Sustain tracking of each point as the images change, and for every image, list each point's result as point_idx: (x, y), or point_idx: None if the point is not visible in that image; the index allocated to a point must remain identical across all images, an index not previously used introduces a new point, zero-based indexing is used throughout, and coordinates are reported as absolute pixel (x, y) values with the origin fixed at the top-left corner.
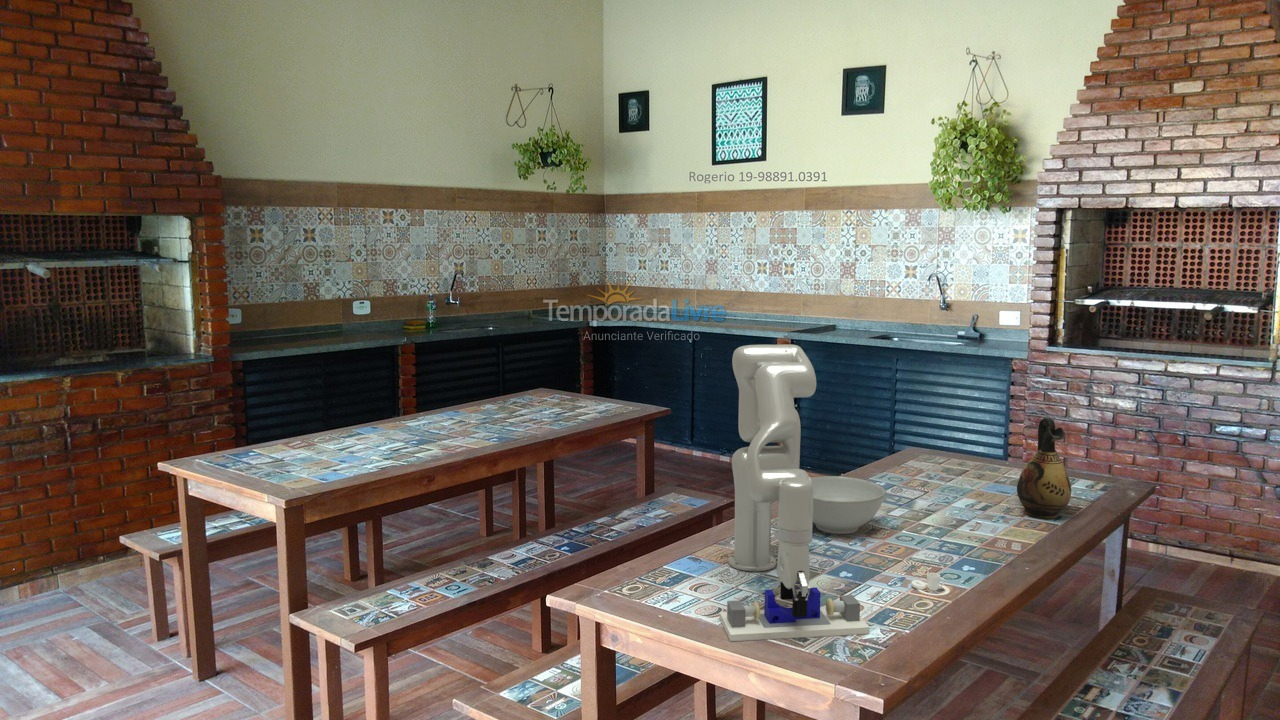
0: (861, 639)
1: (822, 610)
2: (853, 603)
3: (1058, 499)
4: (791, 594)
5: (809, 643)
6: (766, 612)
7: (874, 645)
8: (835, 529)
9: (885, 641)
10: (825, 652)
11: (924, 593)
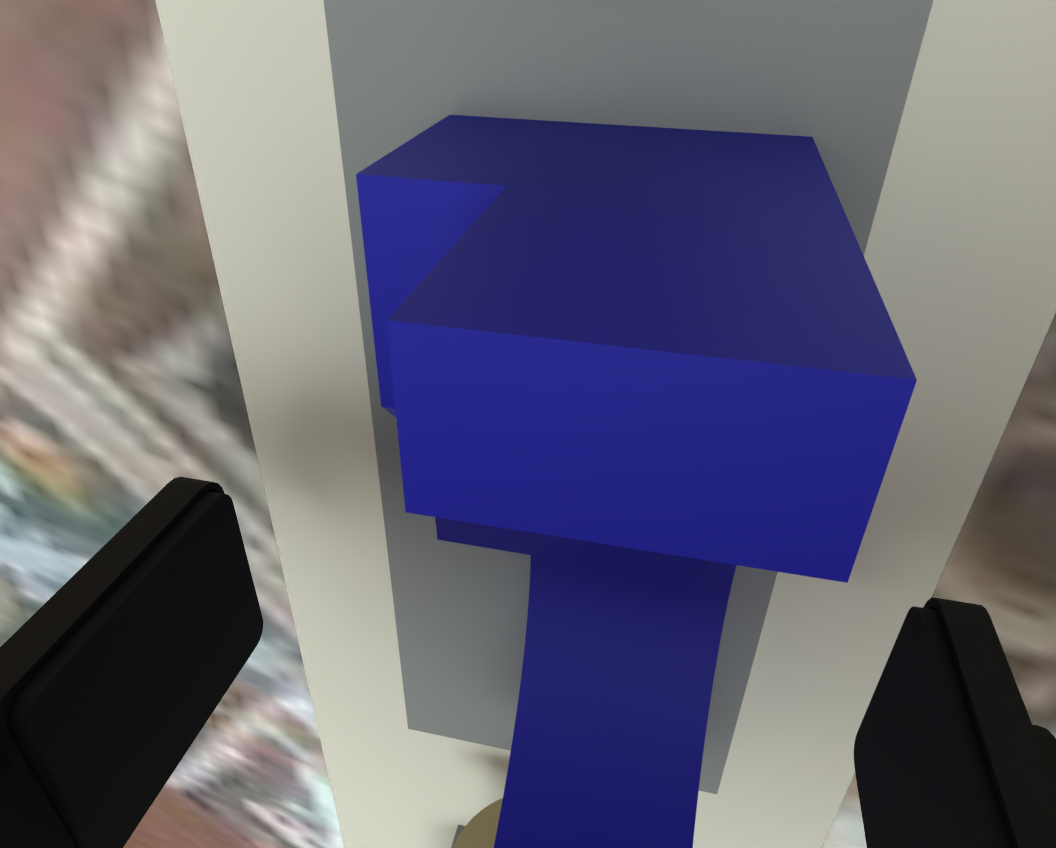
0: (284, 754)
1: (735, 804)
2: None
3: None
4: (880, 792)
5: (174, 425)
6: (639, 155)
7: (203, 766)
8: None
9: (264, 829)
10: (27, 472)
11: None
